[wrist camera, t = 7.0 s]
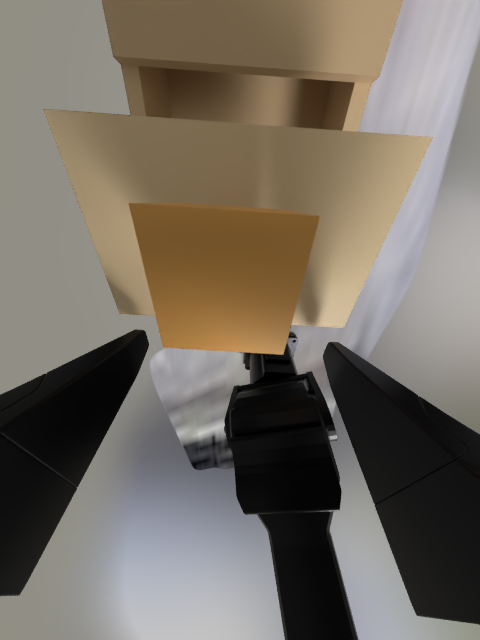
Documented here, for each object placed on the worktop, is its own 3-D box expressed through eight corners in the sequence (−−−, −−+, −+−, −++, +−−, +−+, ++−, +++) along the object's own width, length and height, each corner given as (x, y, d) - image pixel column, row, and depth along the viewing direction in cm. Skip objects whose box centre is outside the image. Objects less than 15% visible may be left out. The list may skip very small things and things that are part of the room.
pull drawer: (338, 321, 10) (408, 411, 6) (126, 308, 10) (34, 388, 6) (417, 142, 6) (856, -12, 2) (61, 117, 6) (-444, -117, 2)
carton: (303, 237, 17) (325, 250, 12) (176, 228, 17) (150, 238, 12) (382, -102, 9) (547, -467, 4) (133, -124, 8) (-5, -524, 4)
